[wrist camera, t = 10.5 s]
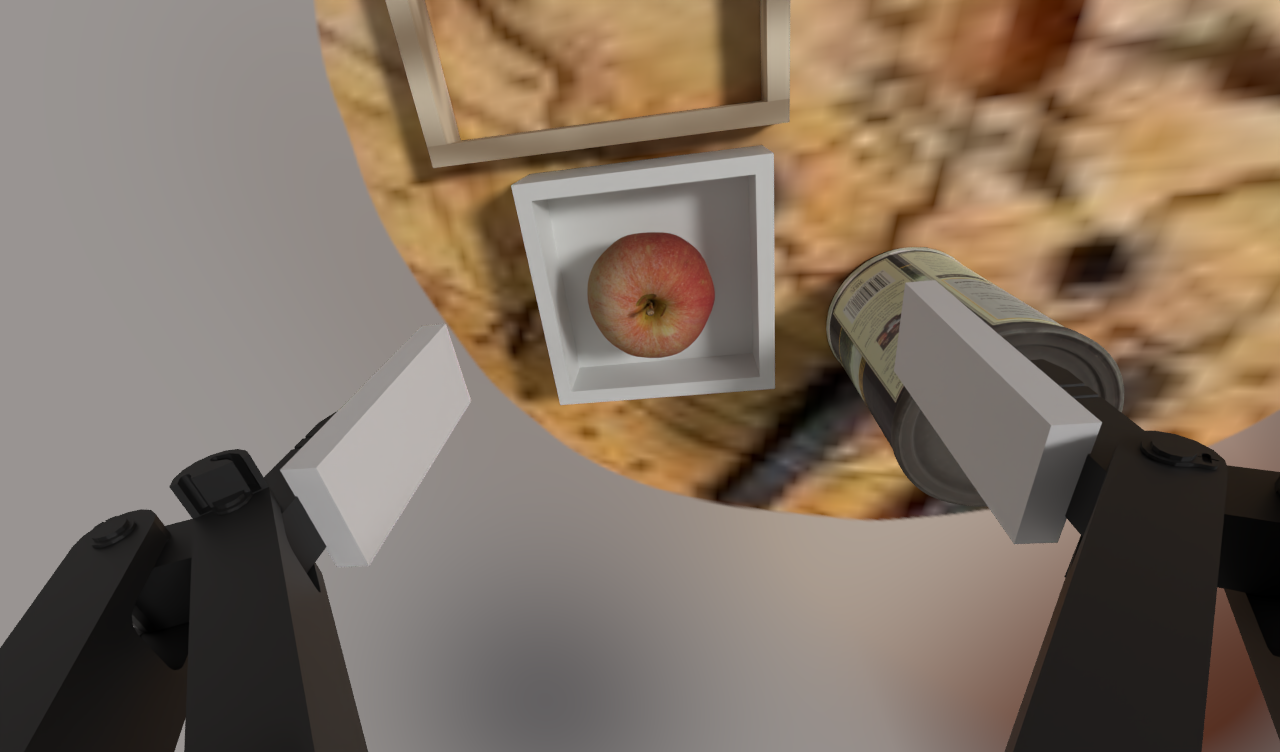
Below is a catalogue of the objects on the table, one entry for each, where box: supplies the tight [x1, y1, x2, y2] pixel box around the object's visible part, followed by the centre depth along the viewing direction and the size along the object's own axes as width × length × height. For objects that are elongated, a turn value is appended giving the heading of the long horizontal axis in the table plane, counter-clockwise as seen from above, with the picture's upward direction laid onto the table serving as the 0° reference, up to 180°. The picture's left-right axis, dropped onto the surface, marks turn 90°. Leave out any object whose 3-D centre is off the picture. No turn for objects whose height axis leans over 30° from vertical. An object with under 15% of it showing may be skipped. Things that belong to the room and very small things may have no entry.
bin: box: [511, 145, 775, 405], centre depth 36 cm, size 15×15×4 cm
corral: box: [385, 0, 790, 168], centre depth 29 cm, size 14×21×2 cm
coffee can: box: [826, 247, 1124, 506], centre depth 32 cm, size 10×10×14 cm
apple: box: [587, 232, 715, 358], centre depth 34 cm, size 8×8×8 cm
